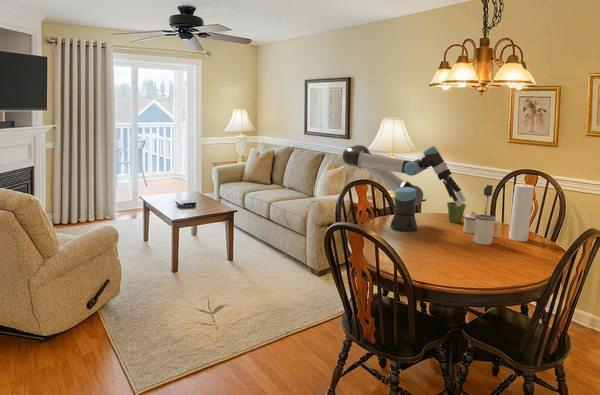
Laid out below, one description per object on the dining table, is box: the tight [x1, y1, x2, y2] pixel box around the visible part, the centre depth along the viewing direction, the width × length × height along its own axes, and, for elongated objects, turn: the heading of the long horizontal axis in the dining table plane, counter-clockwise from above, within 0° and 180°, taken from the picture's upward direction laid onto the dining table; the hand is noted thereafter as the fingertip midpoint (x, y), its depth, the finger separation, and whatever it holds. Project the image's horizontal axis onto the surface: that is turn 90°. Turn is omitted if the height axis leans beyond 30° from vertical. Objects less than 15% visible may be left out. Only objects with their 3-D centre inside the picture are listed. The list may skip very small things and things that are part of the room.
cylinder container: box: [508, 183, 535, 242], centre depth 251 cm, size 9×9×30 cm
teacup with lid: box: [462, 211, 478, 235], centre depth 266 cm, size 12×9×12 cm
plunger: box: [483, 184, 494, 218], centre depth 242 cm, size 6×6×20 cm
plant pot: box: [446, 201, 468, 224], centre depth 287 cm, size 12×12×11 cm
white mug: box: [473, 214, 501, 246], centre depth 244 cm, size 12×9×14 cm
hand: (461, 203), depth 265 cm, fingers open, 13 cm apart
